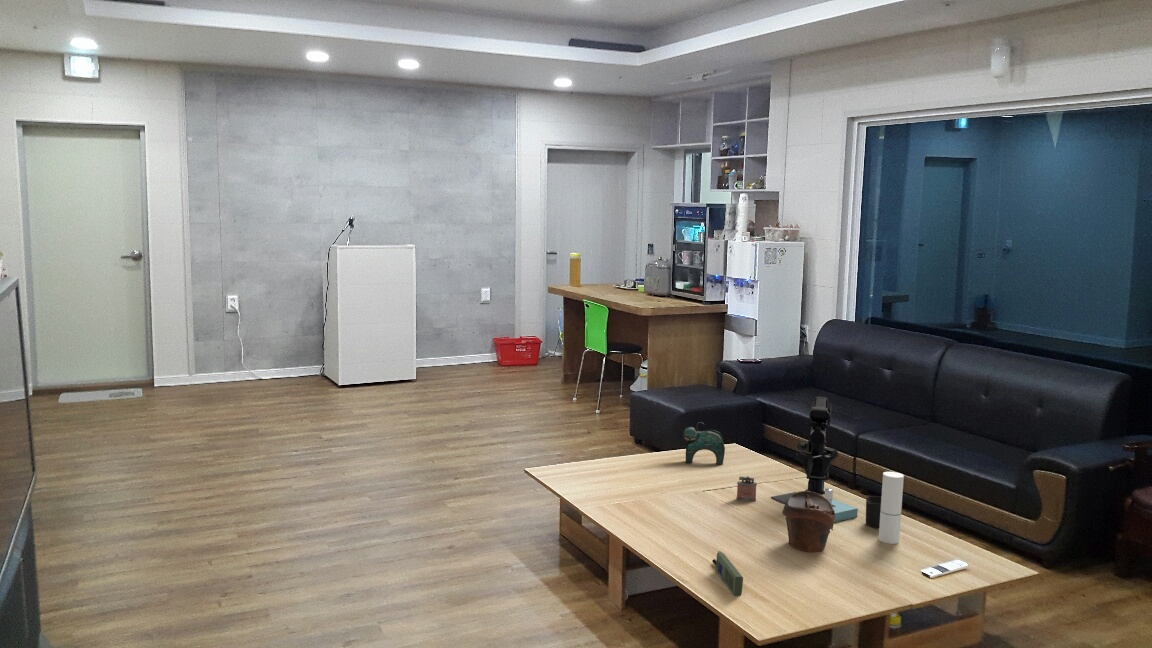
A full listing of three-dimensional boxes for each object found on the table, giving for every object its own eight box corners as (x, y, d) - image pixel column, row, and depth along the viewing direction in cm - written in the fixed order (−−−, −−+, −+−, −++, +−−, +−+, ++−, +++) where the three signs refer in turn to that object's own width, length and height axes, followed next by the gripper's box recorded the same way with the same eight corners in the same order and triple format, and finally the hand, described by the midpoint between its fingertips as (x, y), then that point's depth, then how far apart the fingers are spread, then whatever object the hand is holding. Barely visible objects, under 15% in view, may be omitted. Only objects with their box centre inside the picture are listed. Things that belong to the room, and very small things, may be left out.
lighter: (755, 499, 365) (756, 476, 363) (756, 501, 361) (757, 478, 360) (736, 498, 365) (737, 475, 364) (736, 500, 362) (737, 477, 361)
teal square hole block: (826, 504, 359) (827, 496, 359) (857, 516, 346) (857, 508, 345) (798, 510, 351) (798, 502, 351) (828, 523, 338) (828, 514, 337)
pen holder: (891, 523, 339) (893, 498, 338) (889, 531, 331) (890, 505, 330) (866, 519, 343) (867, 494, 342) (863, 526, 335) (864, 501, 334)
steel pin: (827, 512, 351) (828, 488, 349) (833, 514, 348) (834, 490, 347) (822, 513, 349) (823, 489, 348) (827, 515, 347) (829, 491, 345)
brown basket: (807, 559, 301) (811, 509, 299) (769, 540, 319) (772, 492, 317) (846, 552, 310) (849, 503, 308) (807, 533, 327) (810, 487, 325)
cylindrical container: (898, 538, 324) (903, 473, 321) (899, 544, 317) (904, 478, 314) (878, 535, 326) (883, 470, 323) (878, 542, 319) (883, 476, 316)
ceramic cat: (681, 463, 414) (683, 422, 412) (682, 459, 421) (684, 419, 418) (724, 466, 411) (726, 425, 409) (724, 462, 418) (726, 421, 415)
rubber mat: (795, 493, 373) (795, 491, 373) (819, 503, 361) (819, 501, 361) (770, 498, 366) (771, 496, 366) (794, 508, 354) (795, 506, 354)
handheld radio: (732, 596, 272) (708, 564, 296) (742, 596, 272) (718, 564, 297) (734, 576, 271) (710, 545, 295) (744, 576, 271) (719, 545, 296)
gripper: (819, 430, 370) (817, 466, 372) (787, 436, 360) (785, 472, 363) (839, 437, 360) (837, 473, 363) (807, 443, 351) (805, 480, 353)
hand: (815, 474), depth 361 cm, fingers open, 9 cm apart
